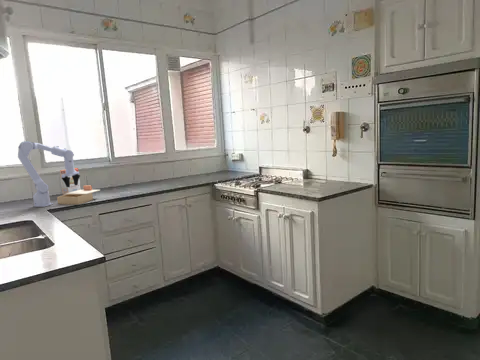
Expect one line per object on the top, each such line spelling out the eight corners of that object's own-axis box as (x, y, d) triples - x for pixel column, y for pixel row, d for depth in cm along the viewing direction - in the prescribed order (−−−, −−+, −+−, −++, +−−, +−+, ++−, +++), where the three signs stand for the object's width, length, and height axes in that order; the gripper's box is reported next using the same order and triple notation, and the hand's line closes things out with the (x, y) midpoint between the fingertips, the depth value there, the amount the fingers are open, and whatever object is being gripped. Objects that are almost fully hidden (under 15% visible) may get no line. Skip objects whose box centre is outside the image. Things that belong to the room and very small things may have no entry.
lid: (65, 194, 234) (64, 188, 234) (80, 190, 248) (79, 185, 247) (86, 194, 229) (85, 188, 229) (100, 190, 243) (99, 184, 242)
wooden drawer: (58, 204, 227) (57, 197, 227) (73, 199, 241) (72, 192, 240) (78, 204, 223) (77, 197, 222) (93, 199, 236) (92, 192, 235)
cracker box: (69, 197, 250) (65, 170, 247) (62, 197, 252) (58, 170, 248) (81, 193, 264) (78, 167, 261) (75, 194, 265) (71, 168, 262)
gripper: (66, 168, 227) (69, 187, 229) (81, 165, 240) (84, 184, 242) (58, 168, 228) (60, 187, 231) (73, 165, 242) (76, 184, 244)
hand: (72, 186), depth 237 cm, fingers open, 7 cm apart
